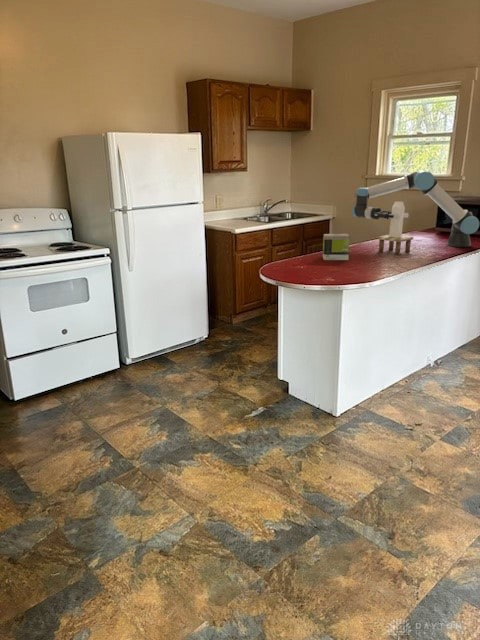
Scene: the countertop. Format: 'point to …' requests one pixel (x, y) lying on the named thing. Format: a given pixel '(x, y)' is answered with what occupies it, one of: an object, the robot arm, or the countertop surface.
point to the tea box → (336, 246)
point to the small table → (398, 243)
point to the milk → (397, 220)
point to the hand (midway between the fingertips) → (403, 216)
